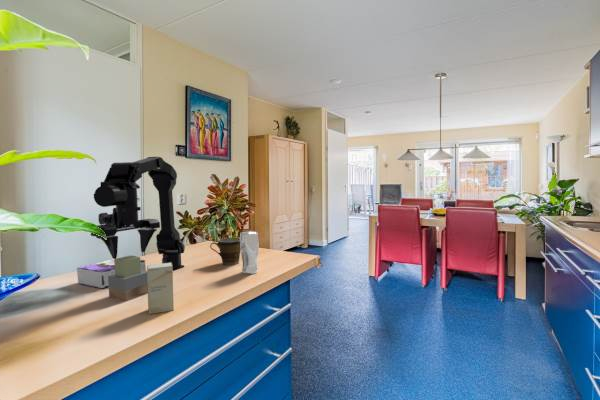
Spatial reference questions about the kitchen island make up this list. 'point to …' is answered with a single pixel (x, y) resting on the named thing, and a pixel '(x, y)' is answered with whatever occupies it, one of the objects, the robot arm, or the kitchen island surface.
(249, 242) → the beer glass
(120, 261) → the olive cube
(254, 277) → the kitchen island surface
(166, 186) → the robot arm
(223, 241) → the ceramic cup
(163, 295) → the skincare box
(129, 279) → the charcoal block
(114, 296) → the walnut block
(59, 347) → the kitchen island surface
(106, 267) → the candy box
